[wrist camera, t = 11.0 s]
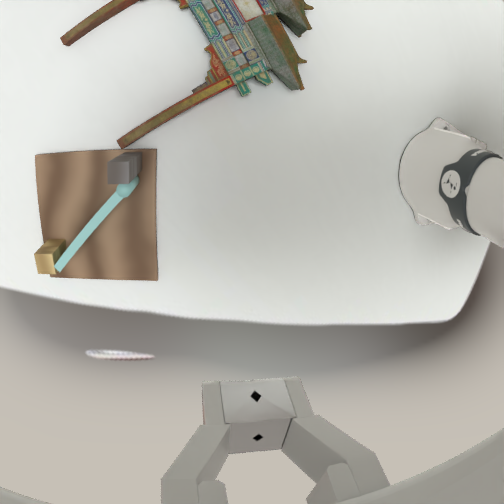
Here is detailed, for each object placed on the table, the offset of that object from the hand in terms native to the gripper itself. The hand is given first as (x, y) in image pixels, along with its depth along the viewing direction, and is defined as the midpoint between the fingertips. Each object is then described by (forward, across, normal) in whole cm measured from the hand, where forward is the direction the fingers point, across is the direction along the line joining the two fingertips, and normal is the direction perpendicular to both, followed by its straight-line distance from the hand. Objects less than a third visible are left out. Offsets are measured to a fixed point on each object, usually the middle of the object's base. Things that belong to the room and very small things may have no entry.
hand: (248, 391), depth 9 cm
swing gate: (+34, +15, +6) cm, 38 cm away
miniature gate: (+36, +4, -19) cm, 41 cm away
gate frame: (+35, +16, +6) cm, 39 cm away
